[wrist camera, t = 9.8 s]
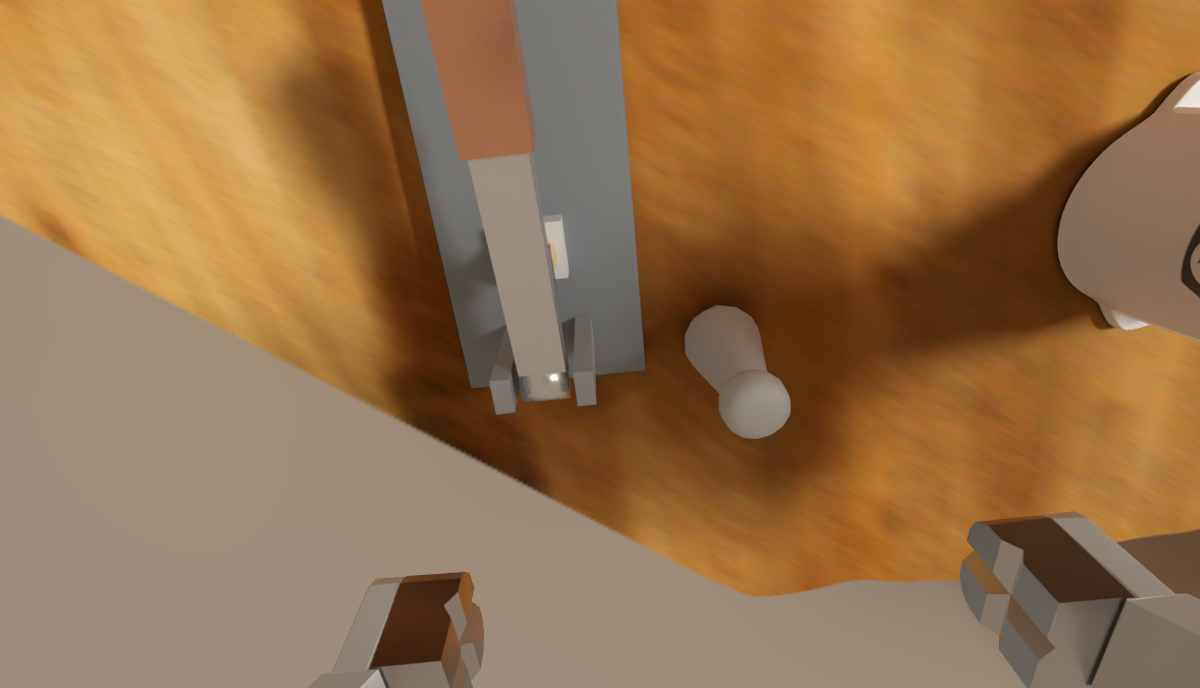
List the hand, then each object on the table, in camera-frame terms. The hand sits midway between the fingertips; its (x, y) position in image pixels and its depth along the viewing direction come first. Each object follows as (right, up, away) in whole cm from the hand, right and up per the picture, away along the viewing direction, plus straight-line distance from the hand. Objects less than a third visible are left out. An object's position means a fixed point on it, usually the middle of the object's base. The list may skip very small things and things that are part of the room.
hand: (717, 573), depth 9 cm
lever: (-7, +12, +23) cm, 27 cm away
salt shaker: (+7, +5, +37) cm, 38 cm away
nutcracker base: (-7, +14, +32) cm, 36 cm away
